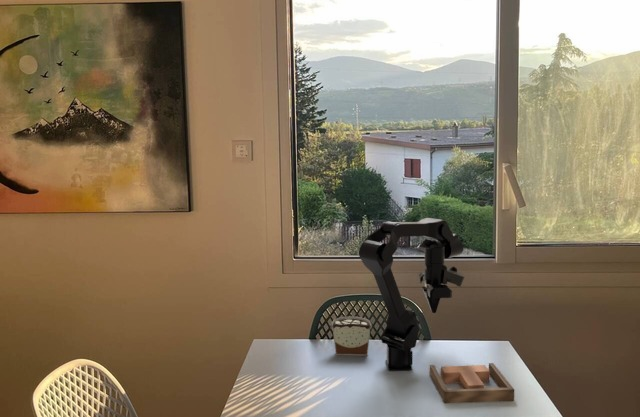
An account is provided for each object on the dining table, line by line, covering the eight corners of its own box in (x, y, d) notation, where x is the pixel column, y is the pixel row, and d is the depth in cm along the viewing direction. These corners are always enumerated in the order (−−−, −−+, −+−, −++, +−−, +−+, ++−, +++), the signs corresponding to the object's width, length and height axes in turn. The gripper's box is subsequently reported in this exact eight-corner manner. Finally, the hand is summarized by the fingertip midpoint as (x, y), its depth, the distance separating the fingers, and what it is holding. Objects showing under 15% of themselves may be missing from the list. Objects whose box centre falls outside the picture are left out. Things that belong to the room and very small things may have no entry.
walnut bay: (444, 403, 150) (444, 391, 150) (429, 375, 166) (429, 365, 166) (514, 400, 151) (514, 389, 151) (492, 373, 167) (493, 363, 167)
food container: (372, 347, 187) (372, 316, 185) (372, 355, 181) (372, 323, 179) (332, 346, 188) (332, 315, 186) (330, 354, 182) (330, 322, 180)
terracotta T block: (452, 397, 154) (452, 386, 153) (440, 377, 165) (440, 366, 165) (499, 395, 154) (499, 384, 154) (484, 375, 166) (484, 365, 166)
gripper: (470, 268, 170) (469, 322, 172) (454, 253, 188) (453, 302, 191) (430, 269, 170) (430, 323, 172) (417, 254, 188) (417, 303, 190)
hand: (433, 312), depth 181 cm, fingers closed
